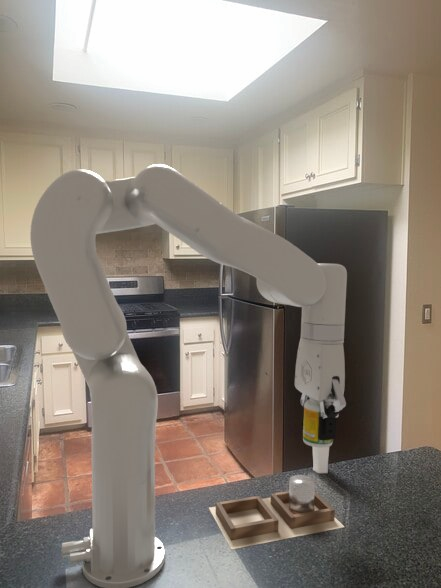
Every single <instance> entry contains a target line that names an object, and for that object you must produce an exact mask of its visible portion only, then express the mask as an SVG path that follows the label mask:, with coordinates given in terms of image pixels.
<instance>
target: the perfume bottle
mask: <svg viewBox="0 0 441 588" xmlns="http://www.w3.org/2000/svg"><path fill="white" fill-rule="evenodd" d="M311 447H312V446H311ZM329 454H330V446H329V447H326V448H317V447H312V461H313V462H312V463H313V464H312V465H313V467H312V470H313V471H314V472H316V473H317V474H328V472H329V469H328V466H329V465H328V464H329Z"/></svg>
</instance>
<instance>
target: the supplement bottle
mask: <svg viewBox="0 0 441 588" xmlns="http://www.w3.org/2000/svg"><path fill="white" fill-rule="evenodd" d="M309 398H310V397H309ZM327 399H331V395H328V397H327ZM330 405H331V402H328V403H326V407H327V408H328V407H329V406H330ZM303 406H304V422H303V427H302V428H303V429H302V440H303V443H304V444H305V445H307V446H309V447H317V448H326V447H329V448H330V447H331V446H332V445H333V442H334V439H332V440H319V439H318V425H319V417H322V416H321V409H320V401H316V400H314V399H312V398H310V399H308V400H307V401H306V402H305V403H304V405H303Z"/></svg>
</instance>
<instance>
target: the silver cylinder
mask: <svg viewBox="0 0 441 588" xmlns="http://www.w3.org/2000/svg"><path fill="white" fill-rule="evenodd" d="M288 485H289V486H288V488H289V489H288V491H289V510H290V511H291V513H292V514H293V515H294V514H300V513H305V512H311V511H314V509H315V508H314V496H315V492H316V491H315V490H316V489H315V487H316V486H315V485H316V482H315V479H314V478H313V477H311V476H309V475H306V474H294V475H292V476H290V477H289V484H288Z"/></svg>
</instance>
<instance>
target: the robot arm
mask: <svg viewBox="0 0 441 588" xmlns="http://www.w3.org/2000/svg"><path fill="white" fill-rule="evenodd" d="M153 225H157V226H158V227H159V228H161V229H162V230H163V231H164V230H165V231H166V232H167V233H169V234H170V235H172V236H173V237H175V238H176V239H178V240H180V241H181V242H182V243H184V244H186V245H187V246H188V247H190V248H191V249H193V250H194V251H195V252H197V253H198V254H199V255H201V256H203V257H205V258H206V259H208V260H210V261H213V262H215V263H216V264H220V265H223V266H227V267H230V268H234V269H236V270H239V271H242V272H244V273H247V274H249V275H250V276H252V277H254V278H255V279H256V287H257V290H258V292H259V294H260V295H261V296H262V297H263V298H264V299H266V300H267V301H269V302H272V303H275V304H279V305H280V304H281V305H284V306H285V305H286V306H287V305H288V306H293V307H297V308H301V319H300V320H301V321H300V322H301V323H300V339H299V342H298V348H297V353H296V362H295V370H294V371H295V373H294V374H295V375H294V387H295V389H296V390H298V392H299V394H300V404H301V415H300V416H301V418H300V427H301V428H303V422H304V403H305V402H306V401H307V400H308V399H310V398H312V399H314V400H316V401H320V409H321V416H322V417H319V425H318V439H319V440H332V439H333V440H335V439H336V438H337V437H336V436H337V418H339V416H340V415H339V414H340V412H342V410H343V409H345V407H346V406H347V402H346V399H345V396H344V394H345V393H344V392H345V381H346V371H345V370H346V369H345V367H346V366H345V365H346V363H345V351H344V350H345V349H344V343H345V341H344V339H345V320H346V299H347V282H348V272H347V271H348V270H347V269H346V266H344V265H342V264H340V263H329V262H328V263H327V262H326V263H325V262H323V263H322V262H321V263H318V262H316V261H315V260H314V259H313V258H312V257H311V256H309V255H307V254H306V253H305V252H304V251H302V250H301V249H300V248H299V247H297V246H296V245H294V244H293V243H291V242H290V241H289V240H287V239H286V238H284V237H283V236H280V235H278V234H277V233H274V232H272V231H271V230H269V229H266V228H265V227H262V226H260V225H259V224H257V223H254V222H253V221H251V220H249V219H247V218H245V217H243V216H240V215H239V214H237V213H235V212H233V211H232V210H231V209H229V208H228V207H227V206H226V205H224V204H223V203H221V202H220V201H219V200H217V199H216V198H214V197H213V196H212V195H210V194H209V193H207V192H206V191H205V190H204V189H202V188H201V187H199V185H196V184H195V182H193V181H191V180H190V179H189V178H187V177H186V176H185V175H183V174H182V173H180V172H179V171H178V170H176V169H175V168H172V167H170V166H168V165H166V164H161V163H159V164H158V163H157V164H152V165H149V166H147V167H145V168H143V169H142V170H141V171H140V172H138V174H137V175H136V176H132V177H127V178H120V179H113V180H104V178H102V177H101V175H99V174H98V173H95V172H93V171H91V170H87V169H83V168H81V169H71V170H69V171H67V172H64V173H62V174H61V175H60V176H58V177H56V178H55V180H53V182H51V184H50V185H49V186H48V187H47V188H46V189H45V191H44V192H43V194H42V195H41V196H40V198H39V200H38V202H37V203H36V205H35V208H34V210H33V215H32V219H31V224H30V235H29V236H30V247H31V252H32V256H33V259H34V263H35V266H36V269H37V271H38V274H39V277H40V279H41V281H42V283H43V286H44V288H45V291H46V293H47V296H48V299H49V302H50V303H51V305H52V309H53V311H54V312H55V315H56V317H57V319H58V322H59V325H60V328H61V332H62V337H63V339H64V341H65V343H66V345H67V346H68V347H69V348H70V350H71V351H72V354H73V355H74V358H75V360H76V362H77V365H78V368H79V369H80V371H81V373H82V375H83V378H84V380H85V382H86V384H87V386H88V389H89V397H90V403H91V404H90V406H91V410H90V411H91V454H90V455H91V496H92V497H91V503H92V505H91V509H92V510H91V511H92V514H91V515H92V517H91V518H92V521H91V523H92V528H89V536H84V537H83V539H81V540H75V541H74V540H72V541H67V542H61V558H66V557H69V565H72V564H77V563H80V562H82V563H81V565H82V566H81V567H82V573H83V575H84V577H85V578H86V579H87V581H88V582H90V583H92V584H93V585H95V586H98V587H100V588H133V587H136V586H139V585H141V584H143V583H146V582H147V581H149V580H150V579H152V578H153V577H155V576H156V575H157V574H158V573H159V572H160V570H161V569H162V568H163V566H164V563H165V561H166V550H165V547H164V544H163V542H162V541H161V540H160V539H159V538H158V537H156V477H155V476H156V461H155V460H156V453H155V452H156V450H155V448H156V445H155V444H156V429H157V417H158V405H159V400H158V399H159V397H158V391H157V385H156V384H155V381H154V379H153V377H152V375H151V374H150V373H149V371H148V370H147V368H146V367H145V366H144V365H143V364H142V363H141V361H140V359H139V356H138V355H137V352H136V350H135V348H134V344H133V343H132V341H131V338H130V336H129V333H128V331H127V330H128V329H127V328H128V327H127V320H126V317H125V315H124V312H123V310H122V309H121V307H120V305H119V304H118V302H117V299H116V297H115V295H114V293H113V291H112V289H111V286H110V284H109V282H108V279H107V276H106V274H105V271H104V268H103V265H102V263H101V260H100V257H99V255H98V252H97V246H96V236H97V235H98V234H104V233H111V232H112V233H113V232H119V231H126V230H133V229H138V228H142V227H149V226H153ZM328 395H331V399H327V397H328ZM309 397H310V398H309ZM328 402H331V405H330V406H329V407H328V408H327V407H326V403H328Z"/></svg>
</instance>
